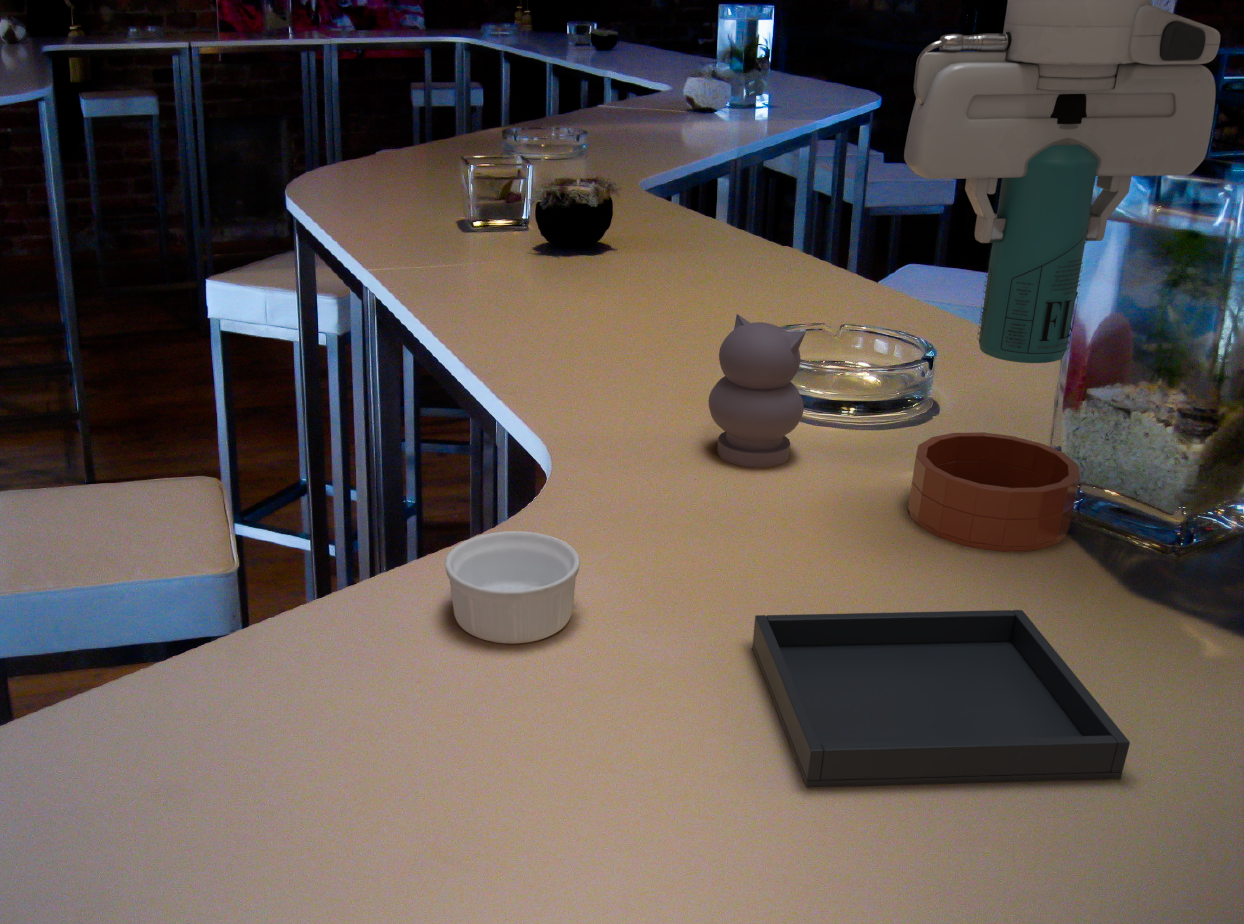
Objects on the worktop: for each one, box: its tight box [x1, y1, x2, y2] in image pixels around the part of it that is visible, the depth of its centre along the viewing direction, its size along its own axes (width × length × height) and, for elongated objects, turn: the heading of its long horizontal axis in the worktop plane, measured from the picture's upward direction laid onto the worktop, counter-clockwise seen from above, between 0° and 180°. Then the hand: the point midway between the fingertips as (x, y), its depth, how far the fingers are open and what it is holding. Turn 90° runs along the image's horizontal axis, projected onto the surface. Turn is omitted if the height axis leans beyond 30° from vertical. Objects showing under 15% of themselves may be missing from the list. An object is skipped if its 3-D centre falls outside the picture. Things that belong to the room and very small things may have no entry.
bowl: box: [907, 431, 1081, 553], centre depth 95 cm, size 12×12×5 cm
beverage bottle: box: [976, 94, 1098, 364], centre depth 87 cm, size 6×7×20 cm
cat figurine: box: [708, 313, 807, 468], centre depth 106 cm, size 8×8×12 cm
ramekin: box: [444, 530, 581, 645], centre depth 81 cm, size 9×9×4 cm
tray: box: [751, 609, 1131, 789], centre depth 72 cm, size 17×14×2 cm
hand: (1038, 240), depth 87 cm, fingers closed on beverage bottle, 6 cm apart
